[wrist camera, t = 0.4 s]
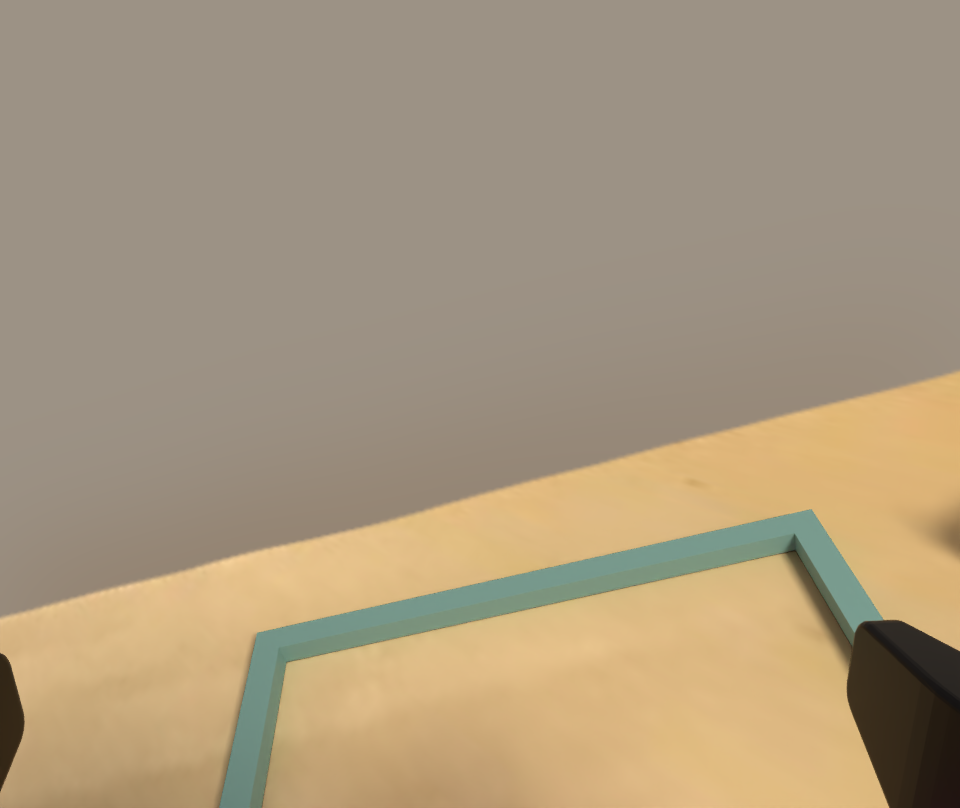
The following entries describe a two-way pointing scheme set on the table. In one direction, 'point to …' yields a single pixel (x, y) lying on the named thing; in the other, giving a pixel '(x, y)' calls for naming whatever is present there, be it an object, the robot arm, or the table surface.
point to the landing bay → (516, 595)
